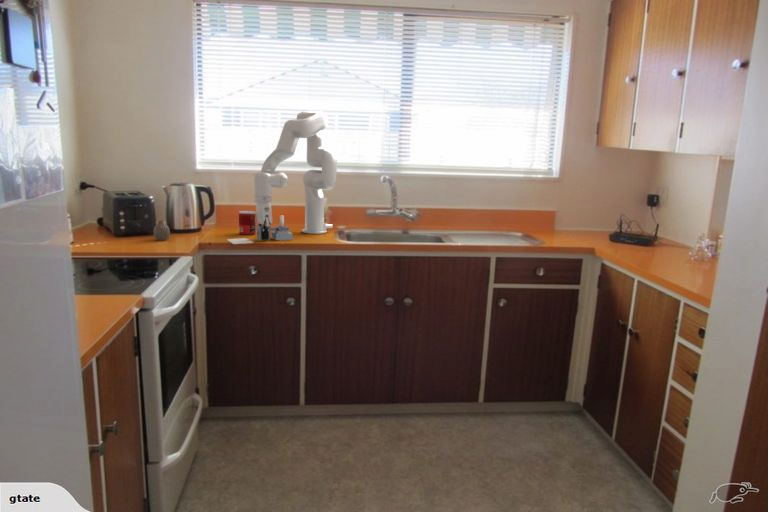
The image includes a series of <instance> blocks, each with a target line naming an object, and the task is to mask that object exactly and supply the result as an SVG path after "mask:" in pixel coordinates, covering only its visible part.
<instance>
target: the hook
mask: <svg viewBox="0 0 768 512" xmlns="http://www.w3.org/2000/svg"><path fill="white" fill-rule="evenodd" d="M264 227H265V226H264ZM275 231H290V227H289V226H287V225H284V227H282V228H280V225H275V226H271V224H269V239H268V240H270V241H271V232H275ZM257 239H258V240H262V225H258V224H257V225H256V240H257ZM258 240H257V241H258Z"/></svg>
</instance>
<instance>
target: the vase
mask: <svg viewBox="0 0 768 512" xmlns="http://www.w3.org/2000/svg"><path fill="white" fill-rule="evenodd" d="M170 235H171V230H170V228H169V226H168V225H167V223H166V222H165V221H164V220H161V219H160V220H158V221H157V223H156V224H155V226H154V227H153V237H154V238H155V240H156V241H158V242H161V241H167V240H168V239H169V238H170Z"/></svg>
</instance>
